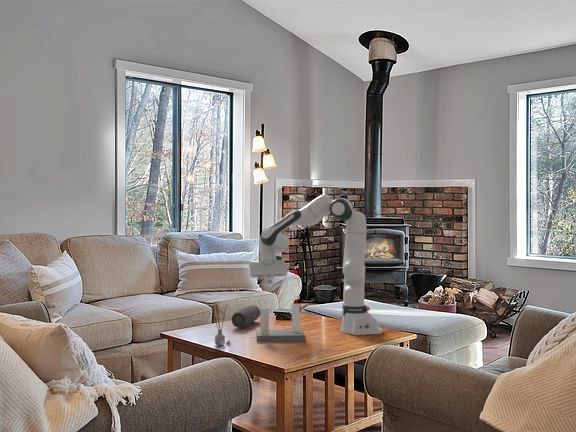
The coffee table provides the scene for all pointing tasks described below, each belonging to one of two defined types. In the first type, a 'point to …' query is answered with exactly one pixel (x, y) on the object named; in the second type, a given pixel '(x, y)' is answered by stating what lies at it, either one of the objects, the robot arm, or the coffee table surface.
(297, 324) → the lever
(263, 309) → the lever
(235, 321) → the bluetooth speaker
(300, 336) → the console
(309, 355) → the coffee table surface
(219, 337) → the reed diffuser
